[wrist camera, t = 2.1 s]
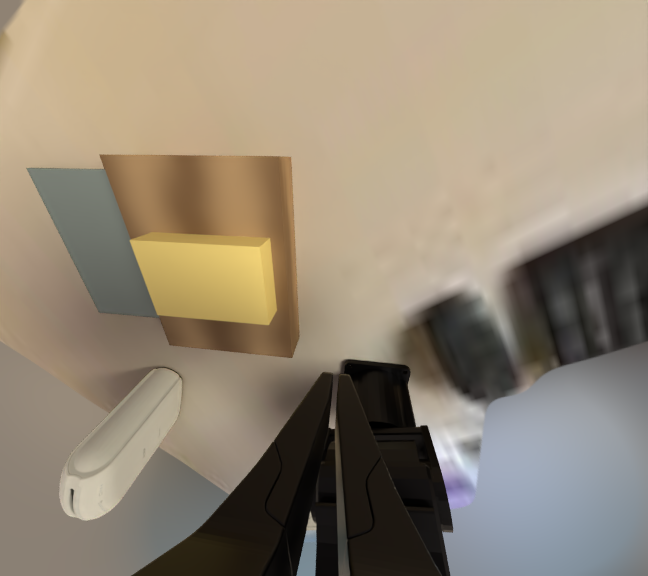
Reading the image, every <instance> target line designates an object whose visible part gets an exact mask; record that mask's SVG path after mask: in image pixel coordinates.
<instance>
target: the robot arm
mask: <svg viewBox="0 0 648 576" xmlns="http://www.w3.org/2000/svg"><path fill="white" fill-rule="evenodd" d="M349 365H351V366H349ZM409 377H410V368H409V367H408V366H402V365H392V364H382V363H373V362H363V361H353V360H348V361H346V362H345V370H344V374H340V375H339V382H338V392H337V405H336V423H335V429H331V428H328V427H329V417H330V408H331V398H332V386H333V374H332V373H328V372H323V373H322V374H321V375H320V377H319V378H318V379H317V381H316V382H315V384H314V385H313V386H312V388H311V389H310V391H309V392H308V393H307V395H306V396H305V398H304V399H303V400H302V402H301V403H300V405H299V406H298V407H297V409H296V410H295V412H294V413H293V414H292V416H291V417H290V419H289V420H288V421H287V423H286V424H285V426H284V427H283V428H282V430H281V431H280V433H279V434H278V435H277V437H276V438H275V440H274V442H272V444H271V445H270V446H269V448H268V449H267V451H266V452H265V453H264V455H263V456H262V457H261V459H260V460H259V461H258V463H257V464H256V465H255V466H254V467H253V469H252V470H251V471H250V472H249V473H248V475H247V476H246V477H245V478H244V479H243V480H242V482H241V483H240V484H239V485H238V486H237V487H236V488H235V489H234V491H233V492H232V493H231V494H230V495H229V496H228V498H226V500H225V501H224V502H223V503H222V504H221V505H220V506H219V508H218V509H217V510H216V511H215V512H214V513H213V514H212V515H211V517H210V518H209V519H208V520H207V521H206V522H205V523H204V524H203V525H202V526H201V527H200V528H199V529H197V530H196V531H195V532H194V533H193V534H191V535H190V536H189V537H188V538H186V539H185V540H183V541H182V542H180V543H179V544H177V545H176V546H174V547H173V548H171V549H170V550H169V551H167V552H166V553H164V554H163V555H161V556H160V557H158V558H157V559H155V560H154V561H152V562H151V563H149V564H148V565H146V566H145V567H144V568H142V569H140V570H139V571H138V572H136V573H135V574H133V575H132V576H296V575H297V570H298V566H299V561H300V556H301V552H302V547H303V543H304V538H305V534H306V529H307V525H308V520H309V516H310V511H311V515H312V519H313V521H314V522H315V523H316V533H317V551H316V552H317V553H316V575H315V576H450V572H449V566H448V561H447V555H446V550H445V545H444V540H443V534H442V531H443V532H453V525H452V518H451V512H450V507H449V502H448V497H447V493H446V489H445V484H444V480H443V476H442V473H441V469H440V466H439V463H438V459H437V456H436V453H435V449H434V446H433V443H432V439H431V436H430V433H429V429H428V426H427V425H425V426H420V427H416V424H415V419H414V414H413V409H412V405H411V400H410V395H409V390H408V381H409Z"/></svg>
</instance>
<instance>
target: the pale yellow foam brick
mask: <svg viewBox="0 0 648 576" xmlns="http://www.w3.org/2000/svg"><path fill="white" fill-rule="evenodd" d="M130 243H131V246H132V248H133V251H134V254H135V256H136V259H137V262H138V264H139V267H140V270H141V272H142V275H143V278H144V281H145V283H146V286H147V289H148V291H149V294H150V297H151V299H152V302H153V305H154V307H155V310H156V313H157V315H161V316H172V317H184V318H195V319H206V320H217V321H228V322H239V323H250V324H261V325H269V324H270V322H271V320H272V319H273V317H274V315H275V313H276V311H277V306H276V295H275V285H274V274H273V264H272V253H271V243H270V238H260V237H239V236H219V235H198V234H178V233H158V232H151V233H148V234H145V235H143V236H140V237H137V238H134V239H131V240H130Z"/></svg>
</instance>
